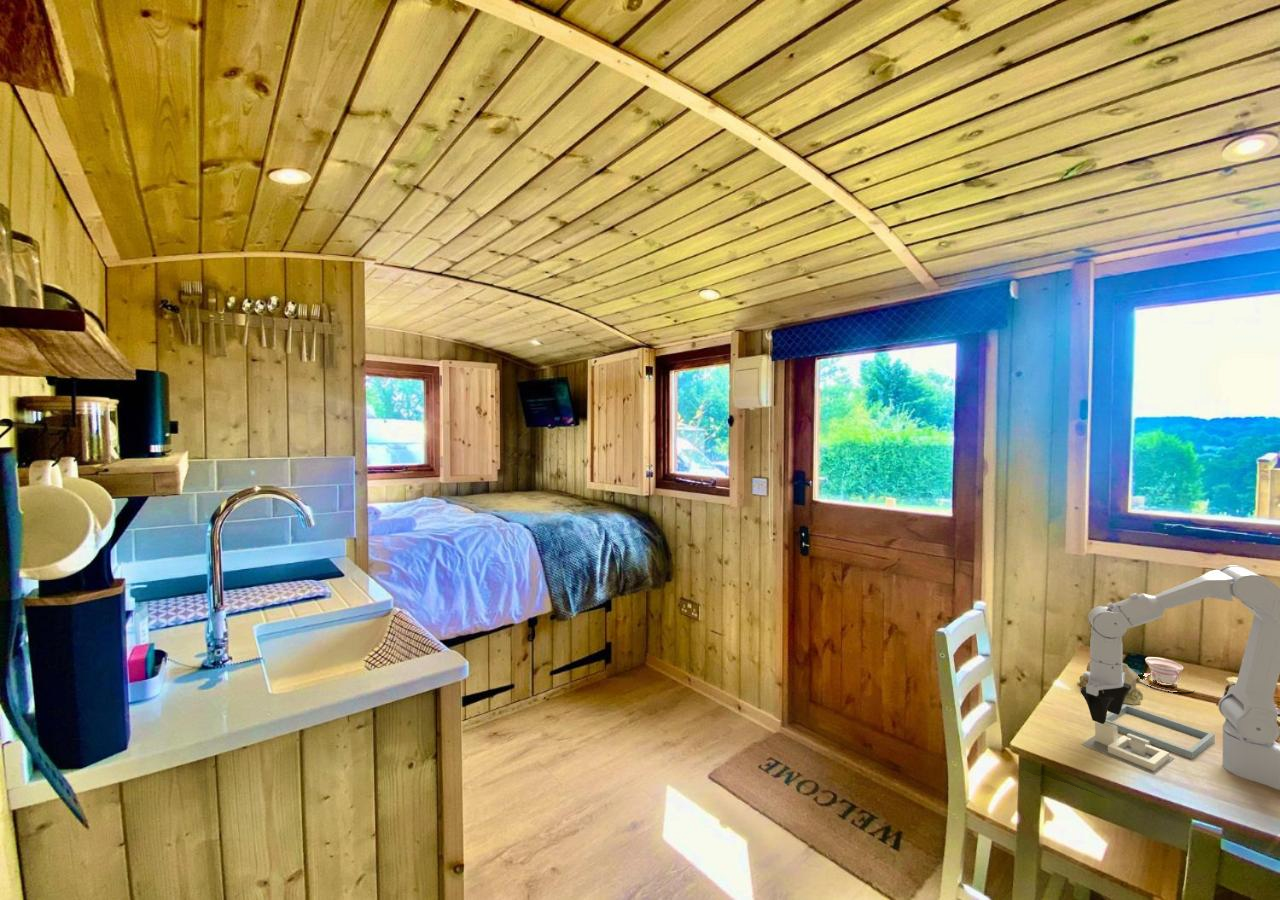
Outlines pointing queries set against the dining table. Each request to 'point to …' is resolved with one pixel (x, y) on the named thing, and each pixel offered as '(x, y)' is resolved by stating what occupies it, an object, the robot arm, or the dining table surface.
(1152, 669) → the teacup
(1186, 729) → the tray
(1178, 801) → the dining table surface
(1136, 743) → the plate
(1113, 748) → the square frame with tab
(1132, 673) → the ceramic model
